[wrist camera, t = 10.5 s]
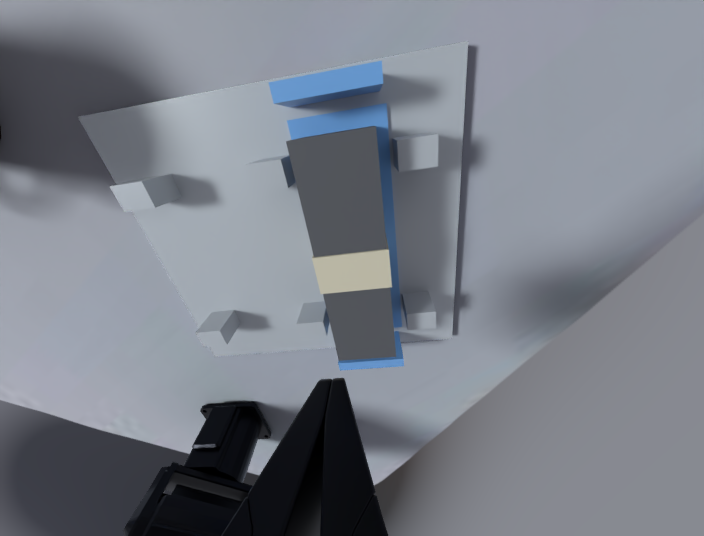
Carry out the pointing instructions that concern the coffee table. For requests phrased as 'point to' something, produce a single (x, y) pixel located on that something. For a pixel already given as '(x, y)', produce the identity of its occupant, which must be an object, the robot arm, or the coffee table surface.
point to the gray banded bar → (348, 237)
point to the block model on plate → (294, 196)
